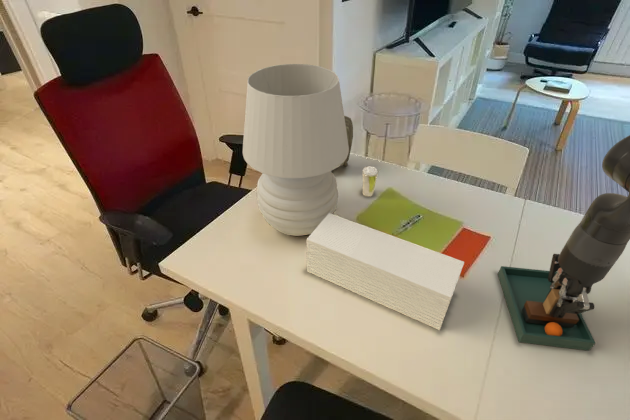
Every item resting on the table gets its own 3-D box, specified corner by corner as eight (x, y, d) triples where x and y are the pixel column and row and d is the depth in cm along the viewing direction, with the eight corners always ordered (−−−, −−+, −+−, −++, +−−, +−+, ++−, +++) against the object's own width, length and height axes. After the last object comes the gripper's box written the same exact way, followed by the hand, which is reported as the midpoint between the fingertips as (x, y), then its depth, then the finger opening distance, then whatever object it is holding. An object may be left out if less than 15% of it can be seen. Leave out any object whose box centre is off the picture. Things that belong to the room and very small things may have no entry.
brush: (566, 314, 78) (583, 289, 73) (572, 328, 76) (590, 304, 71) (521, 309, 79) (535, 284, 74) (526, 323, 77) (540, 298, 72)
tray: (556, 280, 87) (561, 272, 86) (588, 350, 73) (595, 343, 72) (497, 273, 89) (501, 265, 87) (518, 342, 75) (523, 334, 73)
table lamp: (362, 218, 105) (376, 76, 80) (302, 270, 90) (297, 114, 65) (295, 185, 118) (290, 53, 92) (233, 225, 102) (207, 81, 77)
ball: (558, 338, 75) (556, 323, 76) (566, 338, 72) (564, 322, 73) (542, 337, 75) (541, 321, 76) (549, 336, 73) (548, 320, 74)
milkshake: (375, 200, 111) (379, 171, 105) (358, 196, 113) (361, 168, 107) (379, 191, 115) (383, 163, 108) (362, 188, 116) (365, 160, 110)
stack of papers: (452, 294, 84) (464, 261, 77) (439, 330, 77) (451, 297, 70) (328, 244, 97) (329, 212, 90) (307, 271, 89) (306, 239, 83)
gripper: (635, 282, 59) (586, 342, 70) (597, 225, 70) (559, 285, 81) (585, 277, 60) (543, 337, 71) (555, 221, 71) (523, 281, 81)
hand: (552, 309), depth 76 cm, fingers closed on brush, 2 cm apart
